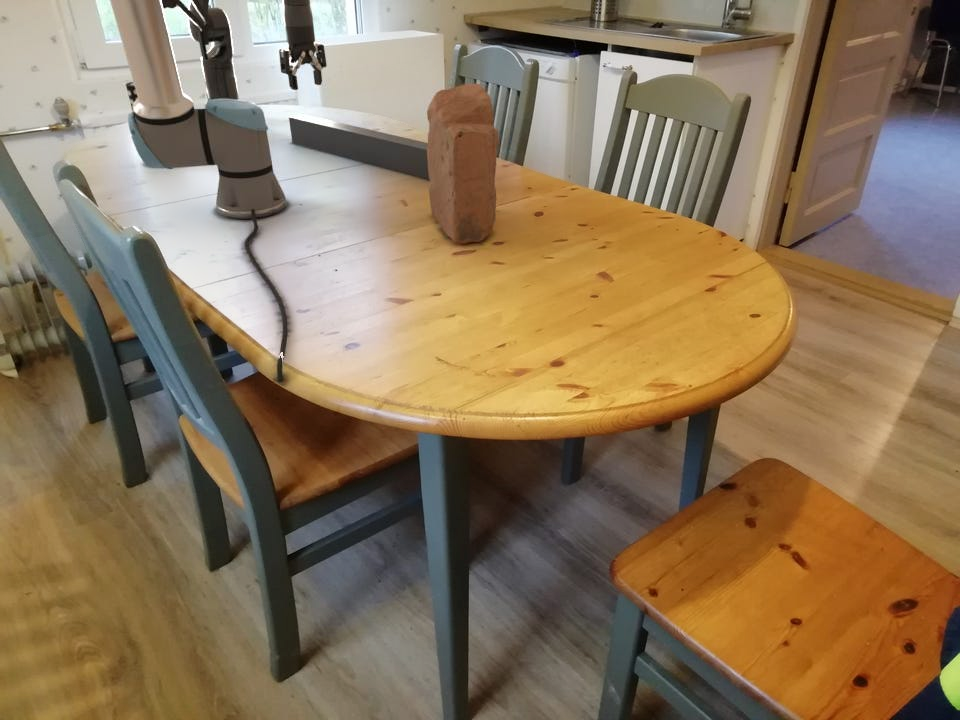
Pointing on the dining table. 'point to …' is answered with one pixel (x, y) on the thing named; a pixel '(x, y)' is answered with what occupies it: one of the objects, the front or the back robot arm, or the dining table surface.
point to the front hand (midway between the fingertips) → (177, 61)
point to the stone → (462, 162)
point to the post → (361, 144)
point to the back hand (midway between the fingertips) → (306, 87)
